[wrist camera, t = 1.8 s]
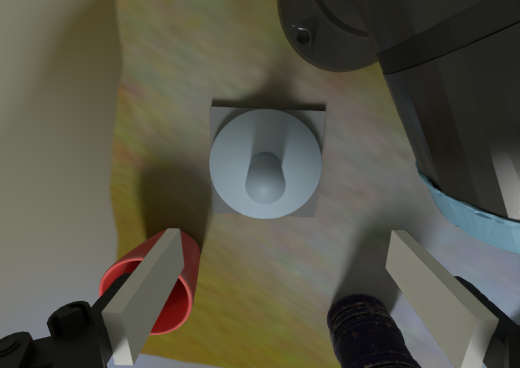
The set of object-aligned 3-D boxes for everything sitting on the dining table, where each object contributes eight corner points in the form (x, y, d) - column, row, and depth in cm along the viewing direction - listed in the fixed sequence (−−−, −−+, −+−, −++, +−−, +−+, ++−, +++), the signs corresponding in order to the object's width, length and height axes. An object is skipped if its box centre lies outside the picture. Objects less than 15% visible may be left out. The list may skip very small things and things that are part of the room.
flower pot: (123, 244, 38) (76, 291, 28) (178, 205, 35) (147, 241, 26) (170, 292, 40) (142, 349, 31) (224, 258, 38) (211, 308, 29)
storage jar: (342, 349, 43) (380, 471, 29) (315, 309, 41) (342, 421, 26) (397, 326, 41) (467, 444, 27) (372, 283, 39) (435, 388, 25)
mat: (211, 106, 31) (209, 106, 30) (324, 111, 31) (326, 111, 30) (213, 210, 35) (212, 212, 35) (312, 214, 35) (313, 217, 35)
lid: (210, 106, 30) (191, 107, 23) (326, 111, 30) (347, 114, 23) (212, 212, 35) (196, 244, 27) (313, 217, 35) (328, 250, 27)
